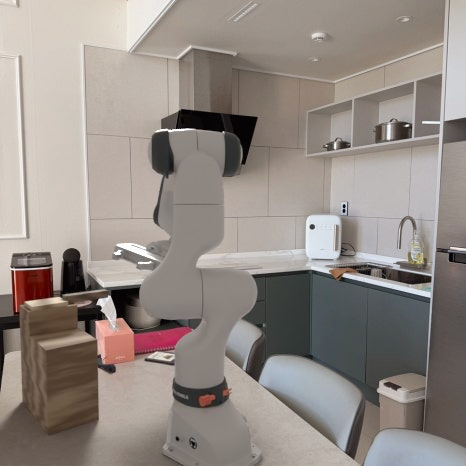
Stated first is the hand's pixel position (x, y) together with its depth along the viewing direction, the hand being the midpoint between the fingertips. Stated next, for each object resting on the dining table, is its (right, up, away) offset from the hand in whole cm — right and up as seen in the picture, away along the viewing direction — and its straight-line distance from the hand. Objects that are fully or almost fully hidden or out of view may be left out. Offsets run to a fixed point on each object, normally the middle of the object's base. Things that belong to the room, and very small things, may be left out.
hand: (125, 261), depth 124 cm
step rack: (-15, -37, -10) cm, 41 cm away
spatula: (-14, -11, -3) cm, 18 cm away
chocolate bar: (+10, -35, +26) cm, 45 cm away
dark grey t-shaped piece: (-13, -36, +20) cm, 43 cm away
